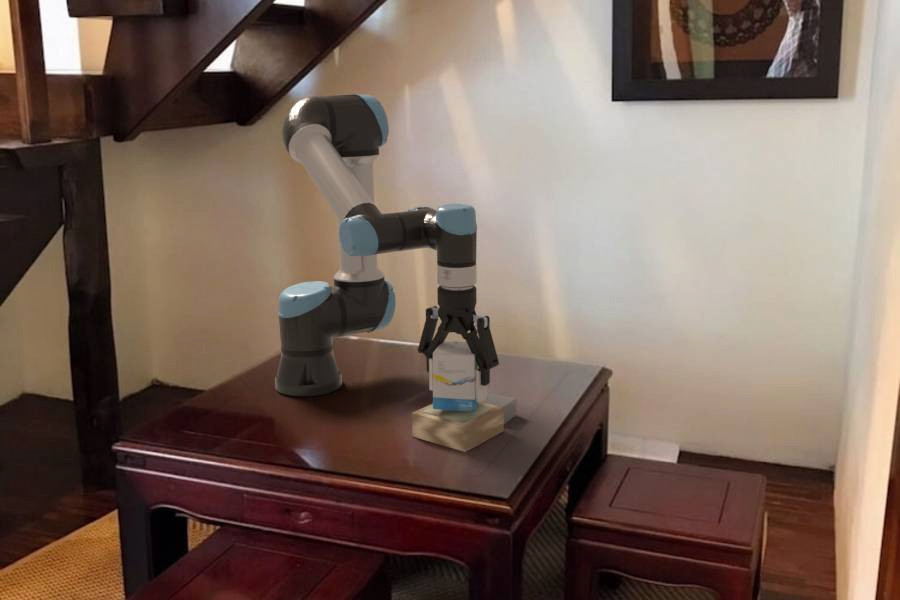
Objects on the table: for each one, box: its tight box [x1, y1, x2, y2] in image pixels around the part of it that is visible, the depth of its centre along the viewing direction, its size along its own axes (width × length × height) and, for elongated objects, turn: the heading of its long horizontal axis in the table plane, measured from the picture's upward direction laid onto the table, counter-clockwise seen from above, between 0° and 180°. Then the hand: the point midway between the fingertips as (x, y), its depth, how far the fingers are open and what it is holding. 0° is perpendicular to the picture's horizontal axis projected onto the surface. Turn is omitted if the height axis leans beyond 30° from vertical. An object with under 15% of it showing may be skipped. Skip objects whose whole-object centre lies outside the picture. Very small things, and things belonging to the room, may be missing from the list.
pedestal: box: [411, 402, 505, 453], centre depth 198 cm, size 13×13×5 cm
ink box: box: [432, 340, 479, 412], centre depth 196 cm, size 9×8×12 cm
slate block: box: [481, 393, 517, 425], centre depth 207 cm, size 6×6×4 cm
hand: (457, 394), depth 197 cm, fingers closed on ink box, 11 cm apart
